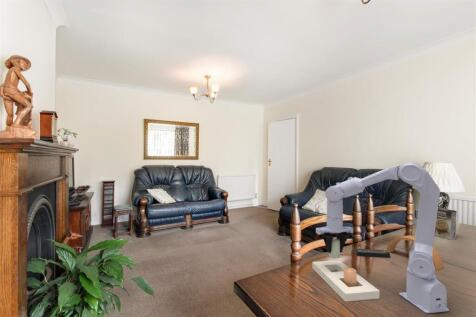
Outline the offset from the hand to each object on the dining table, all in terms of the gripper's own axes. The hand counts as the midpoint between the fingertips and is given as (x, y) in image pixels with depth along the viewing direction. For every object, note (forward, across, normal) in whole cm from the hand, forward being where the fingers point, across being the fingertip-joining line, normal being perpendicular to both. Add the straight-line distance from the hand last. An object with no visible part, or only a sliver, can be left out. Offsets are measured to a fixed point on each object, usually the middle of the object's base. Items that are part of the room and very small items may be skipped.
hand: (334, 251), depth 88 cm
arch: (+9, -43, -8) cm, 44 cm away
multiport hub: (+10, -28, -14) cm, 32 cm away
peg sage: (+2, 0, 0) cm, 2 cm away
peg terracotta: (+9, 0, +10) cm, 13 cm away
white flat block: (+9, 0, +5) cm, 10 cm away
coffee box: (+9, -88, -31) cm, 94 cm away
